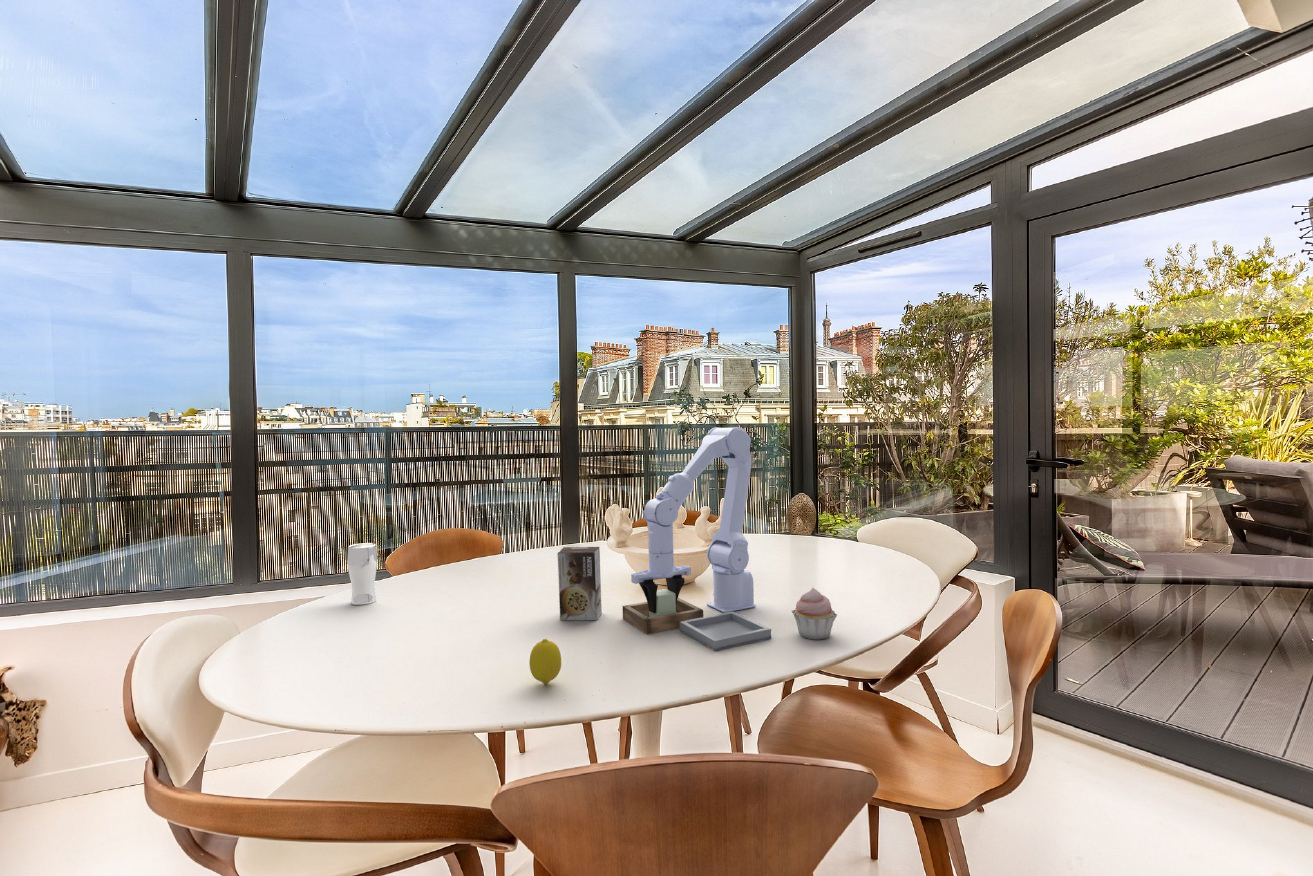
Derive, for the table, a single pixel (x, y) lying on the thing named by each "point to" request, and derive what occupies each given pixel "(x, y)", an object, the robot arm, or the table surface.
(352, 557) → the beer glass
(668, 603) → the block
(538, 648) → the lemon
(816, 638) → the cupcake
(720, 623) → the tray
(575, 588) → the coffee box
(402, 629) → the table surface
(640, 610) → the frame
